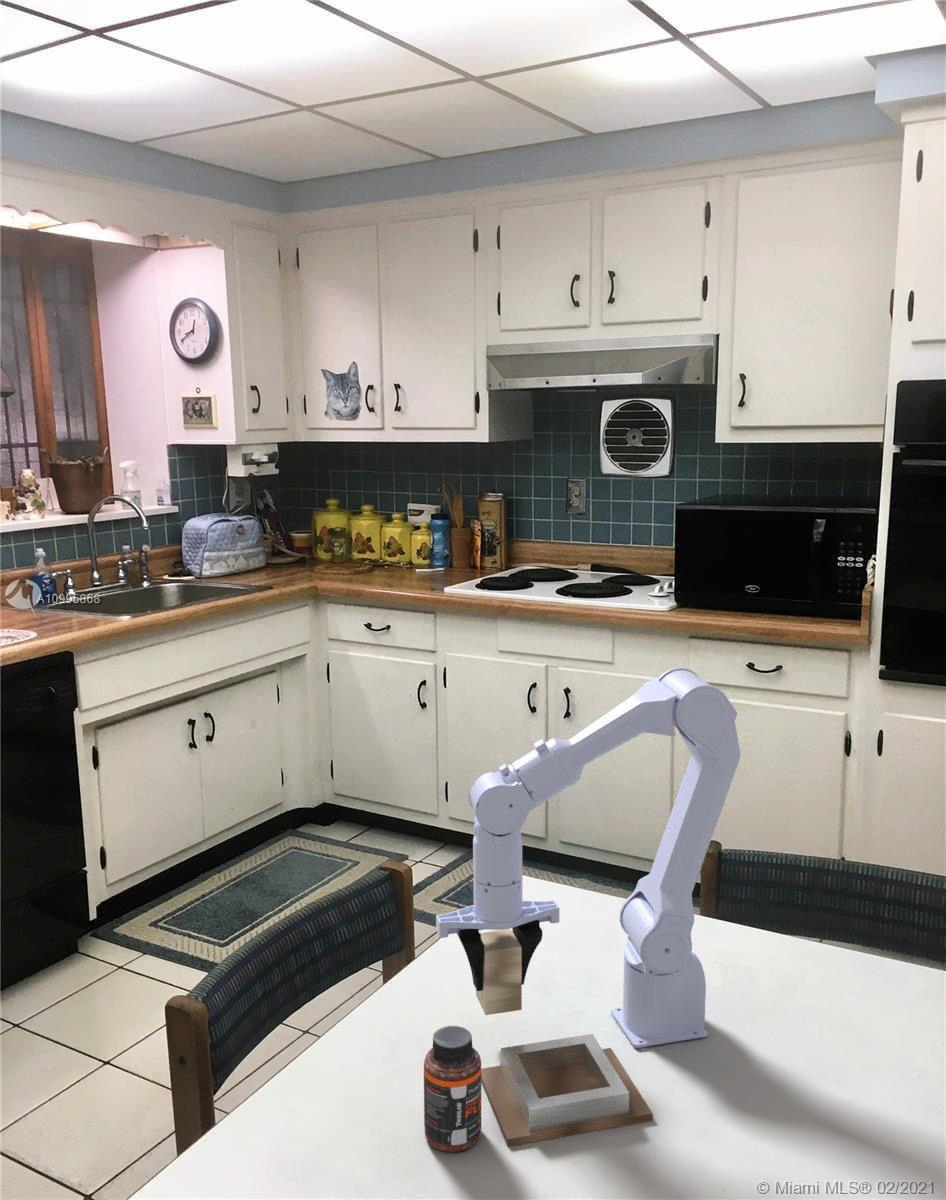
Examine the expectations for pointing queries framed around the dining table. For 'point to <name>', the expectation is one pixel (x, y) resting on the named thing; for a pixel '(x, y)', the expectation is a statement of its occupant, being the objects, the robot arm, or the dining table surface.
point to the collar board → (561, 1090)
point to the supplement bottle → (452, 1091)
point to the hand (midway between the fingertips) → (498, 983)
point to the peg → (501, 973)
